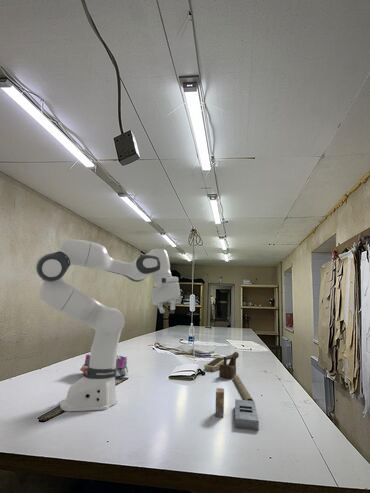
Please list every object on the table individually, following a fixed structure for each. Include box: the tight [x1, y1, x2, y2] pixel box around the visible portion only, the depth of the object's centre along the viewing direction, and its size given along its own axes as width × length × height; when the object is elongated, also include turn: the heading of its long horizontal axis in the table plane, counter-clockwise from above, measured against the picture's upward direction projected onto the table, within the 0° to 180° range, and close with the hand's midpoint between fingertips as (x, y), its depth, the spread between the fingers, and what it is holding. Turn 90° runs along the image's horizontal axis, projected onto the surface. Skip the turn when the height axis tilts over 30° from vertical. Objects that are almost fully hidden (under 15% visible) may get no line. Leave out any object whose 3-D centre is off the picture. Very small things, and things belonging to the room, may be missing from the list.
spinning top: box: [79, 353, 129, 377], centre depth 170 cm, size 27×28×15 cm
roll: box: [232, 374, 254, 401], centre depth 151 cm, size 4×43×3 cm, turn 179°
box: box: [203, 356, 224, 373], centre depth 198 cm, size 8×22×5 cm, turn 148°
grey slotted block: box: [234, 399, 260, 431], centre depth 115 cm, size 8×22×3 cm, turn 171°
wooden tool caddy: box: [218, 351, 240, 380], centre depth 181 cm, size 8×16×13 cm, turn 144°
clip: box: [214, 387, 225, 419], centre depth 117 cm, size 3×6×9 cm, turn 171°
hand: (167, 311), depth 137 cm, fingers open, 8 cm apart
